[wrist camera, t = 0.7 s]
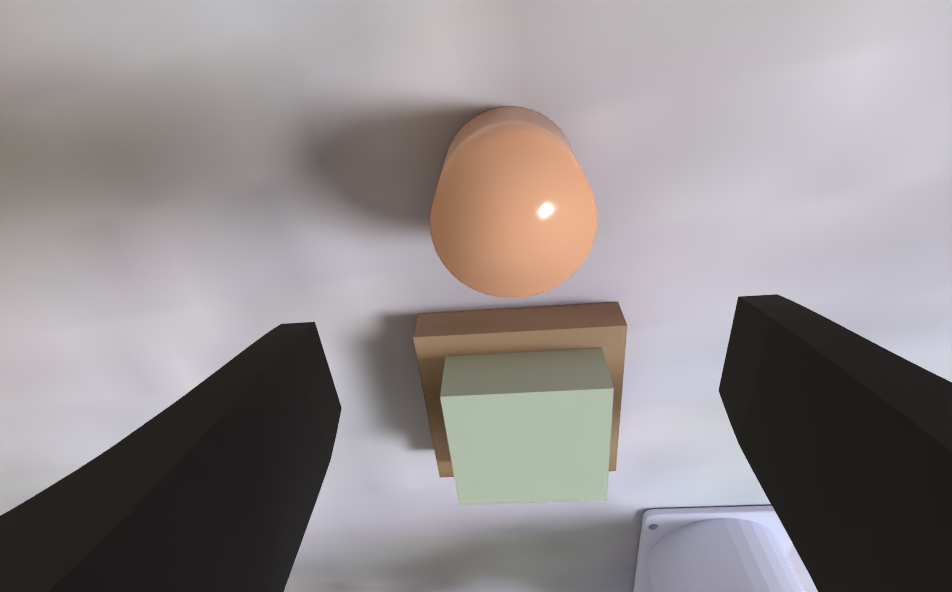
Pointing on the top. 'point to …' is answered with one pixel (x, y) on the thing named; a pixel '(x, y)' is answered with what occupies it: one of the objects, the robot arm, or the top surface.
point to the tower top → (528, 425)
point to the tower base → (516, 350)
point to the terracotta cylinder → (512, 205)
